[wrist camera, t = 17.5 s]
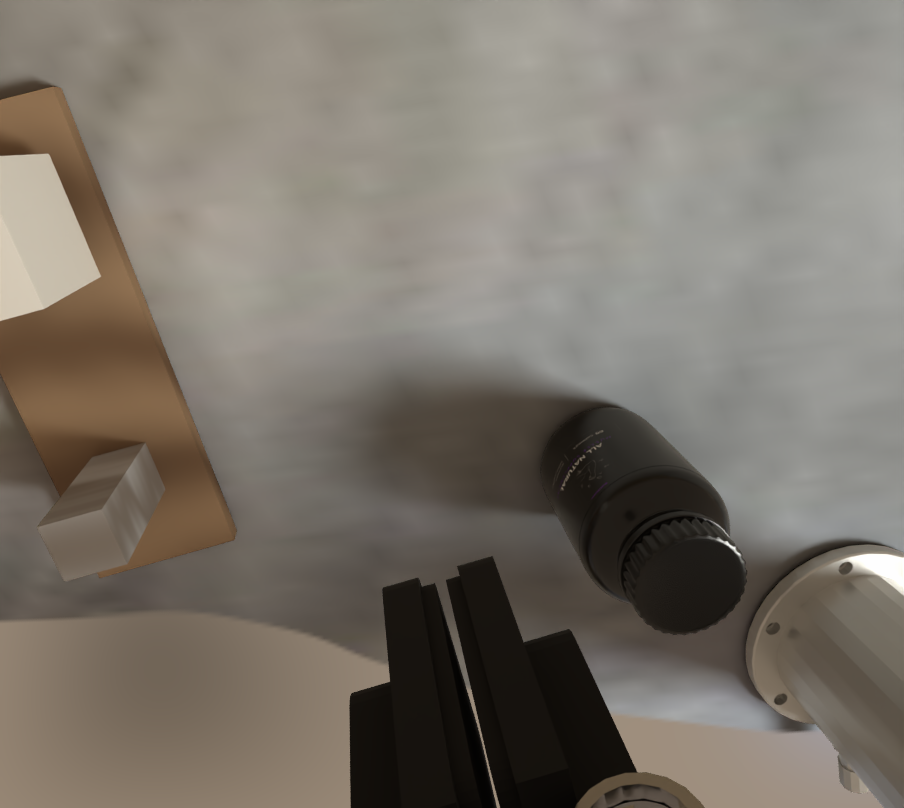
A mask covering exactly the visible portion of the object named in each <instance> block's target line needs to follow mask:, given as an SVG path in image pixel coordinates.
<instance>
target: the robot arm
mask: <svg viewBox="0 0 904 808" xmlns="http://www.w3.org/2000/svg"><path fill="white" fill-rule="evenodd" d="M457 567H458V570H459V574H460V576H458V577H455V578H451V579H448V580H446V582H447V587H448V591H449V595H450V599H451V604H452V608H453V612H454V617H455V621H456V625H457V629H458V634H459V638H460V642H461V647H462V651H463V655H464V659H465V664H466V668H467V672H468V676H469V681H470V685H471V689H472V694H473V698H474V702H475V706H476V711H477V715H478V719H479V723H480V728H481V732H482V736H483V740H484V745H485V749H486V754H487V758H488V761H489V766H490V770H491V774H492V778H493V782H494V786H495V790H496V793H497V797H498V801H499V804H500V808H704V806H703V805H702V804H701V802H700V801H699V800H698V799H697V798H696V797H695V796H693V794H692V793H690V791H689V790H687V788H686V787H684V786H682V785H680V784H678V783H676V782H675V781H673V780H671V779H669V778H667V777H663V776H659V775H655V774H651V773H647V772H643V773H637V771H636V768H635V766H634V764H633V762H632V760H631V758H630V756H629V753H628V751H627V749H626V747H625V745H624V743H623V740H622V738H621V736H620V734H619V732H618V730H617V728H616V725H615V723H614V721H613V719H612V717H611V715H610V713H609V710H608V708H607V706H606V704H605V702H604V700H603V697H602V695H601V693H600V691H599V689H598V687H597V685H596V682H595V680H594V678H593V676H592V674H591V672H590V669H589V667H588V665H587V663H586V661H585V659H584V657H583V654H582V652H581V650H580V648H579V646H578V644H577V642H576V639H575V637H574V636H573V634H572V632H571V631H570V630H569V629H568V630H564V631H561V632H558V633H554V634H551V635H547V636H544V637H541V638H537V639H534V640H530V641H527V642H524V643H523V640H522V637H521V634H520V631H519V629H518V626H517V623H516V620H515V617H514V615H513V612H512V609H511V606H510V604H509V601H508V598H507V595H506V592H505V590H504V587H503V584H502V581H501V578H500V576H499V573H498V570H497V567H496V564H495V562H494V559H493V557H492V556H491V557H488V558H484V559H481V560H478V561H474V562H471V563H467V564H464V565H460V566H457ZM382 591H383V604H384V615H385V627H386V638H387V650H388V661H389V673H390V682H388V683H385V684H381V685H378V686H374V687H371V688H367V689H364V690H361V691H358V692H354V693H352V694H351V696H350V783H351V808H497V807H496V802H495V798H494V794H493V790H492V785H491V781H490V777H489V772H488V768H487V763H486V760H485V755H484V750H483V746H482V742H481V738H480V734H479V731H478V727H477V723H476V720H475V717H474V713H473V710H472V707H471V703H470V699H469V696H468V693H467V689H466V686H465V683H464V679H463V676H462V672H461V669H460V666H459V662H458V659H457V655H456V652H455V649H454V645H453V642H452V639H451V635H450V632H449V628H448V625H447V622H446V618H445V615H444V612H443V608H442V605H441V601H440V598H439V595H438V591H437V588H436V585H435V583H434V584H430V585H427V586H423V587H422V586H421V583H420V580H419V578H415V579H412V580H408V581H405V582H401V583H398V584H394V585H391V586H387V587H384V588H383V589H382ZM746 665H747V669H748V673H749V677H750V679H751V681H752V682H753V684H754V686H755V688H756V690H757V691H758V692H759V693H760V695H761V696H762V697H763V699H764V700H765V701H766V703H767V704H768V705H770V706H771V707H772V708H773V709H774V710H775V711H777V712H778V713H779V714H781V715H783V716H786V717H788V718H790V719H792V720H795V721H799V722H803V723H807V724H816V725H817V726H818V727H819V729H820V730H821V731H822V732H823V733H824V735H825V736H826V737H827V738H828V740H829V741H830V742H831V743H832V745H833V747H834V749H835V750H836V751H838V752H839V755H838V767H839V779H840V783H841V784H842V785H843V787H844V788H846V789H847V790H849V791H851V792H854V793H859V794H861V793H866V792H868V791H871V793H872V794H873V795H874V797H875V798H876V799H877V800H878V801H879V803H880V804H881V805H882V806H883V807H884V808H904V553H903V552H901V551H898V550H895V549H892V548H889V547H886V546H878V545H869V544H867V545H854V546H847V547H843V548H839V549H835V550H831V551H829V552H826V553H824V554H822V555H819V556H817V557H815V558H812V559H811V560H809V561H807V562H806V563H804V564H802V565H801V566H799V567H798V568H796V569H795V570H793V571H792V572H791V573H790V574H789V575H787V576H786V577H785V578H784V579H783V580H781V581H780V582H779V583H778V584H777V585H776V587H775V588H774V589H773V590H772V591H771V592H770V593H769V595H768V596H767V597H766V598H765V600H764V601H763V603H762V605H761V606H760V608H759V609H758V611H757V612H756V614H755V617H754V619H753V622H752V624H751V627H750V629H749V633H748V638H747V643H746Z"/></svg>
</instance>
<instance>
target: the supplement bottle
mask: <svg viewBox="0 0 904 808" xmlns="http://www.w3.org/2000/svg"><path fill="white" fill-rule="evenodd" d="M541 479H542V484H543V487H544V490H545V493H546V495H547V497H548V499H549V501H550V503H551V505H552V507H553V509H554V511H555V513H556V515H557V517H558V519H559V520H560V522H561V524H562V526H563V528H564V530H565V532H566V534H567V536H568V537H569V539H570V541H571V543H572V545H573V547H574V549H575V551H576V552H577V554H578V556H579V558H580V560H581V562H582V564H583V566H584V568H585V569H586V571H587V572H588V574H589V576H590V577H591V579H592V580H593V581H594V583H595V584H596V585H597V586H598V587H599V588H600V589H601V590H603V591H604V592H605V593H606V594H608V595H610V596H611V597H613V598H615V599H617V600H619V601H622V602H625V603H628V604H632V605H633V607H634V608H635V610H636V612H637V613H638V615H639V616H640V617H641V618H643V620H644V621H645V623H646V624H648V625H651V626H652V627H653V628H654V629H655V630H661V631H662V632H663V633H671V634H673V635H677V634H682V635H686V634H689V633H697V632H698V631H700V630H706V629H708V628H709V627H710V626H713V625H716V624H717V623H718V622H719V621H720V620H722V619H724V618H725V617H726V616H727V615H728V613H729V612H731V611H732V610H733V609H734V607H735V605H736V604H737V603H738V602H739V601H740V597H741V595H742V594H743V593H744V586H745V584H746V582H747V580H746V574H747V570H746V568H745V563H746V562H745V560H744V559H743V558H742V553H741V551H740V550H739V549H738V548H737V547H736V546H735V544H734V543H733V541H732V540H731V539H730V522H729V516H728V512H727V509H726V506H725V503H724V501H723V500H722V498H721V496H720V495H719V493H718V492H717V491H716V489H715V488H714V487H713V486H712V485H711V484H710V483H709V482H708V481H707V480H706V479H705V478H704V477H703V476H702V475H701V474H700V473H699V472H698V471H697V470H696V469H695V468H694V467H693V466H692V465H691V464H690V463H689V462H688V461H687V460H686V459H685V458H684V457H683V456H682V455H681V454H680V453H679V452H678V451H677V450H676V449H675V448H674V447H673V446H672V445H671V444H670V443H669V442H668V441H667V440H666V439H665V438H664V437H663V436H662V435H661V434H660V433H659V432H658V431H657V430H656V429H655V428H654V427H653V426H652V425H651V424H649V423H648V422H647V421H646V420H645V419H643V418H642V417H641V416H639V415H637V414H635V413H633V412H631V411H628V410H625V409H621V408H614V407H602V408H596V409H591V410H588V411H585V412H582V413H580V414H578V415H576V416H574V417H573V418H571V419H570V420H568V421H567V422H566V423H564V424H563V425H562V426H561V427H560V428H559V429H558V430H557V431H556V432H555V434H554V435H553V436H552V438H551V439H550V441H549V443H548V445H547V447H546V449H545V451H544V455H543V458H542V464H541Z"/></svg>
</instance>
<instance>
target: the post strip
mask: <svg viewBox="0 0 904 808" xmlns="http://www.w3.org/2000/svg"><path fill="white" fill-rule="evenodd" d="M32 154H49V155H50V157H51V160H52V162H53V164H54V167H55V169H56V172H57V174H58V176H59V179H60V181H61V183H62V186H63V188H64V190H65V193H66V195H67V197H68V200H69V202H70V205H71V207H72V209H73V212H74V214H75V216H76V219H77V221H78V223H79V226H80V228H81V231H82V233H83V235H84V238H85V240H86V242H87V245H88V247H89V249H90V252H91V254H92V256H93V259H94V261H95V264H96V266H97V268H98V271H99V273H100V275H101V277H100V278H98V279H96V280H94V281H93V282H91V283H89V284H87V285H86V286H84V287H82V288H80V289H78V290H77V291H75V292H73V293H71V294H70V295H68V296H66V297H64V298H63V299H61V300H59V301H57V302H56V303H54V304H52V305H50V306H49V307H47V308H45V309H42V310H38V311H35V312H31V313H28V314H24V315H20V316H17V317H13V318H9V319H6V320H2V321H0V374H1V376H2V378H3V380H4V382H5V384H6V386H7V388H8V390H9V392H10V394H11V396H12V399H13V401H14V403H15V405H16V407H17V409H18V411H19V413H20V415H21V417H22V419H23V421H24V423H25V425H26V427H27V429H28V431H29V434H30V436H31V438H32V440H33V442H34V444H35V446H36V448H37V450H38V452H39V454H40V456H41V458H42V460H43V462H44V464H45V466H46V469H47V471H48V473H49V475H50V477H51V479H52V481H53V483H54V485H55V487H56V489H57V491H58V493H59V495H60V498H59V500H58V501H57V502H56V503H55V505H54V506H53V507H52V509H51V510H50V511H49V512H48V514H47V515H46V516H45V517H44V519H43V520H42V521H41V522H40V524H39V525H38V526H37V529H38V531H39V533H40V535H41V537H42V539H43V541H44V543H45V545H46V547H47V549H48V551H49V553H50V555H51V557H52V559H53V561H54V563H55V565H56V566H57V568H58V570H59V572H60V574H61V576H62V578H63V580H64V582H66V581H69V580H73V579H76V578H80V577H83V576H87V575H90V574H94V573H97V574H98V576H99V578H102V577H105V576H109V575H113V574H116V573H120V572H123V571H127V570H130V569H134V568H137V567H141V566H144V565H148V564H151V563H155V562H158V561H162V560H166V559H169V558H173V557H176V556H180V555H183V554H187V553H190V552H194V551H197V550H201V549H204V548H208V547H212V546H215V545H219V544H222V543H226V542H229V541H233V540H234V539H235V536H236V532H237V530H236V527H235V525H234V522H233V519H232V517H231V514H230V512H229V509H228V507H227V504H226V502H225V499H224V497H223V494H222V492H221V489H220V487H219V484H218V482H217V479H216V477H215V474H214V472H213V469H212V467H211V464H210V462H209V459H208V457H207V454H206V451H205V449H204V446H203V444H202V441H201V439H200V436H199V434H198V431H197V429H196V426H195V424H194V421H193V419H192V416H191V414H190V411H189V409H188V406H187V404H186V401H185V399H184V396H183V394H182V391H181V389H180V386H179V383H178V381H177V378H176V376H175V373H174V371H173V368H172V366H171V363H170V361H169V358H168V356H167V353H166V351H165V348H164V346H163V343H162V341H161V338H160V336H159V333H158V331H157V328H156V326H155V323H154V321H153V318H152V315H151V313H150V310H149V308H148V305H147V303H146V300H145V298H144V295H143V293H142V290H141V288H140V285H139V283H138V280H137V278H136V275H135V273H134V270H133V268H132V265H131V263H130V260H129V258H128V255H127V253H126V250H125V247H124V245H123V242H122V240H121V237H120V235H119V232H118V230H117V227H116V225H115V222H114V220H113V217H112V215H111V212H110V210H109V207H108V205H107V202H106V200H105V197H104V195H103V192H102V190H101V187H100V185H99V182H98V179H97V177H96V174H95V172H94V169H93V167H92V164H91V162H90V159H89V157H88V154H87V152H86V149H85V147H84V144H83V142H82V139H81V137H80V134H79V132H78V129H77V127H76V124H75V122H74V119H73V117H72V114H71V112H70V109H69V106H68V104H67V101H66V99H65V96H64V94H63V91H62V89H61V88H58V87H49V88H45V89H41V90H37V91H33V92H29V93H25V94H21V95H17V96H13V97H9V98H5V99H1V100H0V156H11V155H32Z"/></svg>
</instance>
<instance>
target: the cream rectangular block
mask: <svg viewBox="0 0 904 808" xmlns="http://www.w3.org/2000/svg"><path fill="white" fill-rule="evenodd" d="M100 277H101V275H100V273H99V271H98V268H97V266H96V264H95V261H94V259H93V256H92V254H91V252H90V249H89V247H88V245H87V242H86V240H85V238H84V235H83V233H82V231H81V228H80V226H79V223H78V221H77V219H76V216H75V214H74V212H73V209H72V207H71V205H70V202H69V200H68V197H67V195H66V193H65V190H64V188H63V186H62V183H61V181H60V179H59V176H58V174H57V172H56V169H55V167H54V164H53V162H52V160H51V157H50V155H49V154H32V155H11V156H0V321H2V320H6V319H9V318H13V317H17V316H20V315H24V314H28V313H31V312H35V311H38V310H42V309H45V308H47V307H49V306H50V305H52V304H54V303H56V302H57V301H59V300H61V299H63V298H64V297H66V296H68V295H70V294H71V293H73V292H75V291H77V290H78V289H80V288H82V287H84V286H86V285H87V284H89V283H91V282H93V281H94V280H96V279H98V278H100Z"/></svg>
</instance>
